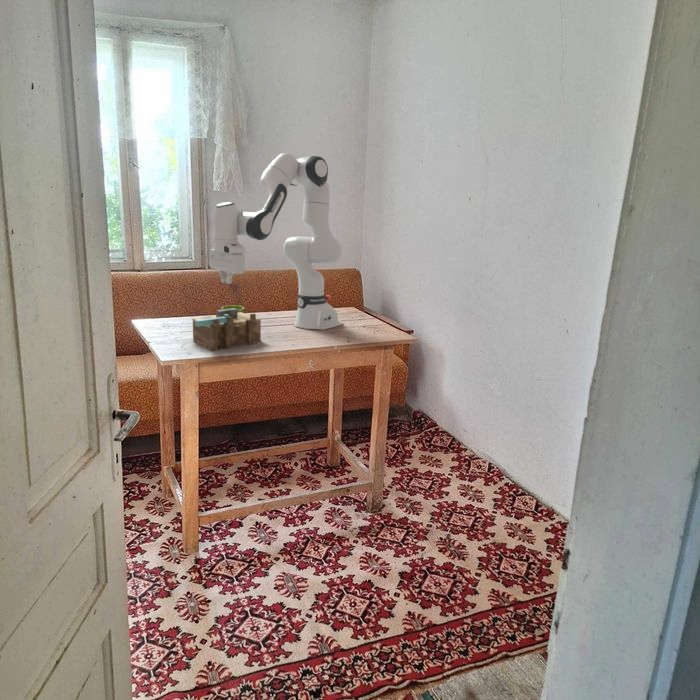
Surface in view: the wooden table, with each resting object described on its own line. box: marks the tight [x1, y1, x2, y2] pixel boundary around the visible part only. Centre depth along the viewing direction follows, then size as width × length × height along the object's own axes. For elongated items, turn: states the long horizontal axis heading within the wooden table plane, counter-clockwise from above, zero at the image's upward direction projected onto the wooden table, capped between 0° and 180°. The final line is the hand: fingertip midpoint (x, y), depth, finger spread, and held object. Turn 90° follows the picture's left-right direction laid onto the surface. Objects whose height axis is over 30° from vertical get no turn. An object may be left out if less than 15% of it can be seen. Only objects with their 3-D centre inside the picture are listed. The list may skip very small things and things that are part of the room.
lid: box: [192, 308, 262, 328], centre depth 233 cm, size 22×17×5 cm
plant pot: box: [221, 304, 245, 313], centre depth 257 cm, size 9×9×9 cm
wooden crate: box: [192, 313, 262, 352], centre depth 233 cm, size 23×18×12 cm
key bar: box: [195, 314, 230, 327], centre depth 220 cm, size 13×2×3 cm, turn 133°
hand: (226, 282), depth 230 cm, fingers closed
